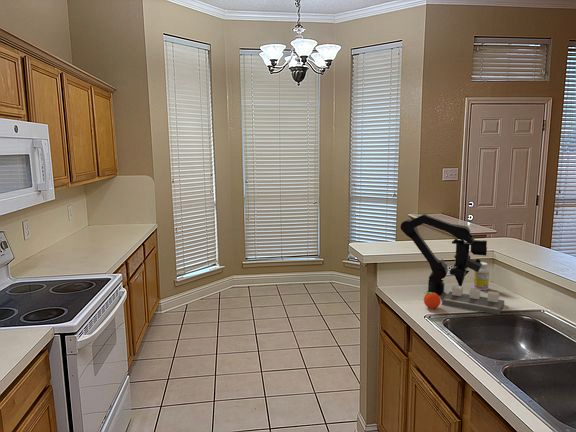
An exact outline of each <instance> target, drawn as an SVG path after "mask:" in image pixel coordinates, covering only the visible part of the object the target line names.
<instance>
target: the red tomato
mask: <svg viewBox="0 0 576 432" xmlns="http://www.w3.org/2000/svg"><path fill="white" fill-rule="evenodd" d="M423 295H424V296H423V302H424V303H423V304H424V305H425V307H428V308H429V309H431V310H432V309H437V308H438V307H439V306H440V304H441V303H442V300H441V297H440V295H438V294H436V293H434V292H427V291H426V292H425V293H423Z"/></svg>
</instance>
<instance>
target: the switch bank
mask: <svg viewBox="0 0 576 432" xmlns="http://www.w3.org/2000/svg"><path fill="white" fill-rule="evenodd" d="M487 299H488V297H486V296H480V298H479V299H473V298H469V293H467V294H466V293H463V294H462V296H455V295H452V291H449V292H448V293H447V294H446V295H445V296H444V297H443V298H442V300H441V305H444V306H449V307H454V308H459V309H465V310H470V309H472V310H471V311H475V310H478V311H477V312H481V311H482V312H481V313H487V314H492V315H496V316H497V315H498V316H499V315H500V314H501V312H502V310H503V308H504V306H505V300H502V299H499V301H498V302H491V301H487Z"/></svg>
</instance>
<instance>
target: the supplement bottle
mask: <svg viewBox="0 0 576 432" xmlns="http://www.w3.org/2000/svg"><path fill="white" fill-rule="evenodd" d="M481 263H482V266H481V268H480V270H479V271H478V272H476V271H474V272H473V273H474V277H473V289H479V290H481V291H487V290H489V286H490V285H489V284H490V283H489V281H490V269H489V268H488V266H489V265H488V263H487V262H483V261H481Z"/></svg>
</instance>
